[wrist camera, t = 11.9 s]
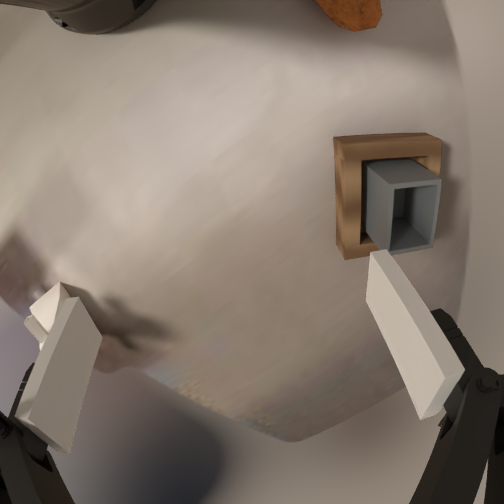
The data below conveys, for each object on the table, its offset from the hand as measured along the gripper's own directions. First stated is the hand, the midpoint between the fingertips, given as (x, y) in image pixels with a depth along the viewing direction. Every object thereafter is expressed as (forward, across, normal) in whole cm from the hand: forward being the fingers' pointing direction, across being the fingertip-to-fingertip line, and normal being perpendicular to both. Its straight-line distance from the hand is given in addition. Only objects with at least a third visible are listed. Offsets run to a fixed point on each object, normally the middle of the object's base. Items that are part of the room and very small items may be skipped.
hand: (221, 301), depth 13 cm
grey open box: (+26, +20, -8) cm, 33 cm away
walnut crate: (+27, +20, -8) cm, 34 cm away
